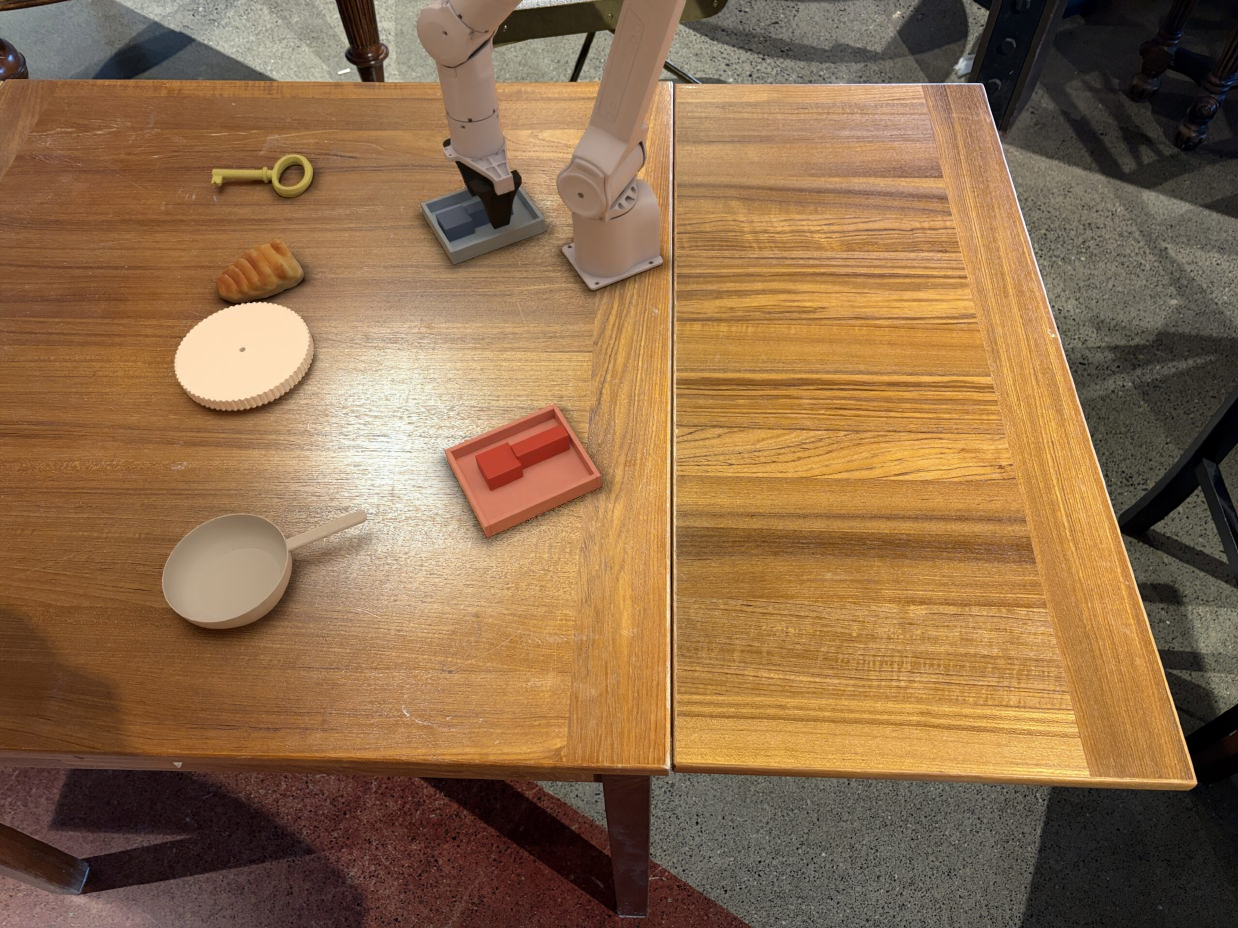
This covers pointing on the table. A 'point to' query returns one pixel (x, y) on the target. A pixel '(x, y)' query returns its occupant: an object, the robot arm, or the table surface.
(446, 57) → the robot arm
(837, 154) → the table surface
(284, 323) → the cream gear wheel
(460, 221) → the stepped square rod
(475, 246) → the blue tray
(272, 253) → the pastry
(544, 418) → the red tray
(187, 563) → the beige frying pan
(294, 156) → the key
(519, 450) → the red stepped bar
